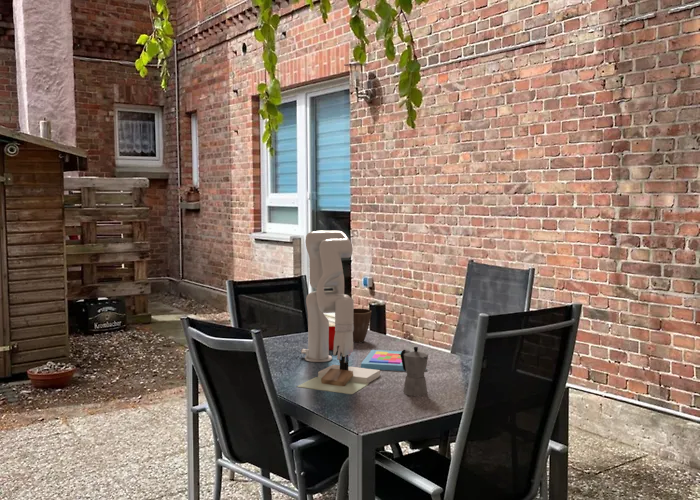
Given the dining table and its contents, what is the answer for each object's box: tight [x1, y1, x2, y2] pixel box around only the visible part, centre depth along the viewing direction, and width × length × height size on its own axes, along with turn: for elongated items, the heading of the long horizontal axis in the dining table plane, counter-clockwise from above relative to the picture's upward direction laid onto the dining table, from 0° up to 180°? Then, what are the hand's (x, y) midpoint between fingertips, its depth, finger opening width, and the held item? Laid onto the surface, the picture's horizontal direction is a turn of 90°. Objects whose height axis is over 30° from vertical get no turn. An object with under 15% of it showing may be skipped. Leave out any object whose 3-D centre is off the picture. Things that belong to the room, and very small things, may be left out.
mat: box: [296, 376, 370, 395], centre depth 279 cm, size 24×16×1 cm, turn 65°
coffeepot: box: [401, 346, 429, 397], centre depth 269 cm, size 15×9×18 cm, turn 35°
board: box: [317, 364, 381, 384], centre depth 292 cm, size 22×14×2 cm, turn 65°
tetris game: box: [360, 349, 406, 372], centre depth 317 cm, size 28×3×28 cm
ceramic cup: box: [329, 325, 335, 351], centre depth 347 cm, size 13×17×10 cm
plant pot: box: [353, 308, 372, 343], centre depth 364 cm, size 15×15×16 cm
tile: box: [321, 368, 353, 386], centre depth 282 cm, size 10×9×2 cm
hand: (344, 371), depth 287 cm, fingers closed
